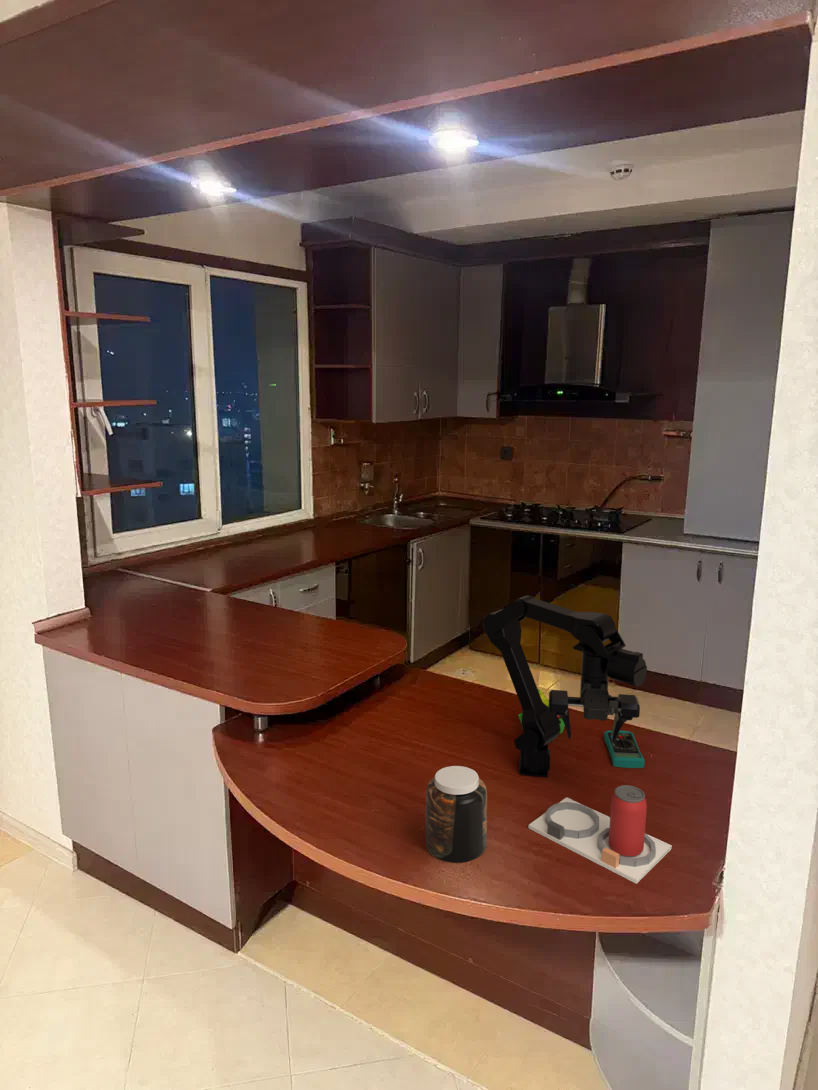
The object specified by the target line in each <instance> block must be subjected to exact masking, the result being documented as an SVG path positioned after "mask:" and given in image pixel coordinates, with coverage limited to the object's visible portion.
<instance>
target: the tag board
mask: <svg viewBox="0 0 818 1090" xmlns="http://www.w3.org/2000/svg"><path fill="white" fill-rule="evenodd" d="M609 827H610V816H608V815H607V814H603V813H602V812H599V811H597V810H595V809H593V808H590V807H588V806H586V805H585V804H582V803H579V801H575V800H574V799H571V798H570V797H564V799H562V800H561V801H560V802H558V803H554V804H552V805H551V806H550V807H549V808H547V809H546V811H545V812H544V813H543V814H541V816H539V817H538V818H536V819H534V821H532V822H530V823H529V824H528V829H529V830H531V831H533V832H535V833H537V834H539V835H541V836H543V837H545V838H547V839H549V840H550V841H553V842H554V843H556V844H558V845H560V846H562V847H564V848H566V849H568V850H570V851H572V852H573V853H575V854H577V855H580V856H582V857H583V858H585V859H588V861H589V860H590V861H591V862H593V863H595V864H597V865H599V866H601V867H603V868H605V869H607V870H609V871H610V872H613V873H615V874H617V875H618V876H620V877H623V878H624V879H626V880H628V881H630V882H632V883H634V884H636V885H637V884H638V883H639V882H640V881H641V880H642V879H643V878H644V877H645V876H646V875H647V874H648V873H649V872H650V871H651V870H652V869H653V868H654V867H655V866H656V865H657V864H658V863H659V862H660V861H661V860H662V859H663V858H664V857H665V856H666V855H667V854H668V853H669V852H670V851H671V850H672V846H673V845H671V844H669V843H667V842H665V841H662V840H661V839H658V838H656V837H653V836H651V835H649V834H647V833H645V837H644V848H643V851H642V853H641V854H639V855H637V856H633V857H626V856H622V855H620V854H618V853H616V852H614V851H613V850H612V849H611V848H610V846H609V843H608V842H609Z"/></svg>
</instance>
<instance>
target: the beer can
mask: <svg viewBox="0 0 818 1090" xmlns="http://www.w3.org/2000/svg"><path fill="white" fill-rule="evenodd" d="M647 811H648V804H647V800H646V794H645V792H644V791H643V789H642V788H639V787H636V786H633V785H628V784H624V785H619V786H617V787H616V788H615V789H614V793H613V794H612V797H611V801H610V815H609V817H610V827H609V842H608V843H609V846H610V848H611V849H612V850H613V851H614V852H616V853H618V854H620V855H622V856H626V857H633V856H637V855H639V854H641V853H642V851H643V848H644V837H645V834H646V822H647Z"/></svg>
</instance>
